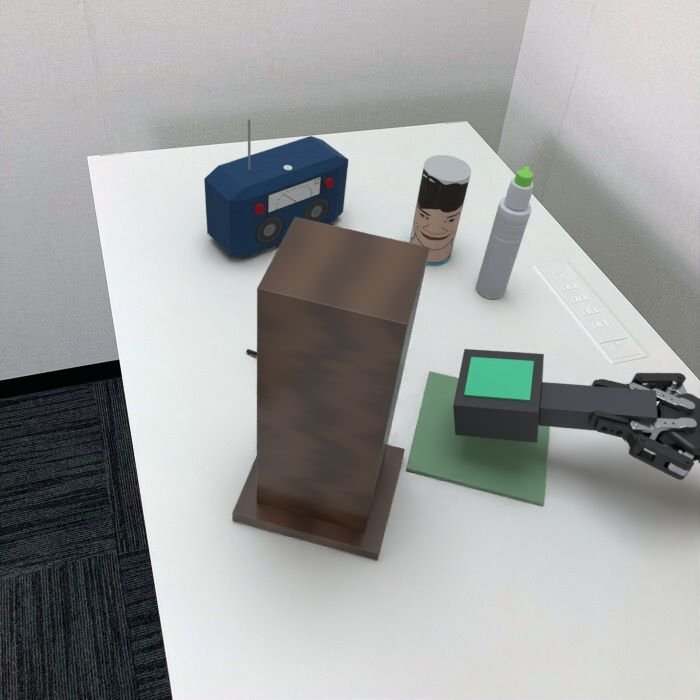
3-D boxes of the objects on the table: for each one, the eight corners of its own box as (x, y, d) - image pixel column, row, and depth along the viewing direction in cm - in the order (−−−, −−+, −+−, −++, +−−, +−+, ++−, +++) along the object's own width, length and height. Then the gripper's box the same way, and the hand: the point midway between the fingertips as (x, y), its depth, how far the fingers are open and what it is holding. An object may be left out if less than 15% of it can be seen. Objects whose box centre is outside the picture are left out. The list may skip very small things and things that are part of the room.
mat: (550, 403, 95) (551, 400, 94) (543, 506, 84) (544, 504, 83) (429, 373, 96) (429, 370, 96) (405, 470, 85) (406, 468, 85)
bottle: (509, 289, 110) (547, 173, 95) (496, 303, 107) (533, 186, 93) (484, 276, 111) (517, 160, 97) (470, 290, 109) (502, 173, 94)
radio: (236, 268, 107) (233, 146, 93) (204, 237, 112) (197, 115, 97) (347, 223, 117) (360, 107, 103) (314, 196, 122) (322, 81, 107)
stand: (403, 456, 87) (456, 238, 64) (377, 560, 77) (429, 348, 54) (273, 422, 88) (279, 199, 65) (232, 520, 79) (222, 298, 56)
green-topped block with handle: (651, 392, 84) (657, 359, 80) (654, 454, 77) (661, 421, 74) (466, 378, 89) (464, 347, 86) (455, 435, 83) (452, 403, 80)
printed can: (399, 252, 113) (414, 167, 103) (422, 233, 117) (439, 149, 107) (436, 271, 111) (455, 187, 100) (458, 251, 115) (479, 167, 104)
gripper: (759, 371, 81) (602, 335, 83) (780, 474, 71) (601, 430, 73) (728, 414, 86) (581, 379, 88) (743, 515, 77) (578, 474, 78)
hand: (591, 402), depth 81 cm, fingers closed on green-topped block with handle, 4 cm apart
